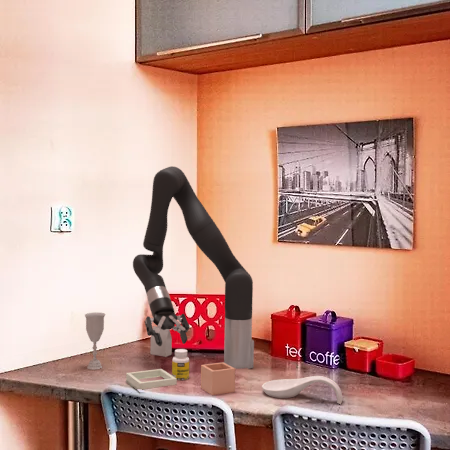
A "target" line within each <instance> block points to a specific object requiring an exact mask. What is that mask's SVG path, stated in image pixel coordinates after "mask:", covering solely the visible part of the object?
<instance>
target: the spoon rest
mask: <svg viewBox="0 0 450 450" xmlns="http://www.w3.org/2000/svg"><path fill="white" fill-rule="evenodd" d="M315 383H323V384H325V385H328V387H330V388H331V389H332V390H333V391H334V393H335V396H336V403H339V404H340V405H341V404H342V402H343V393H342V390H341V387H340V386H339V384H338V383H336V382H335V381H334V380H332V379H331V378H329V377H328V376H327V377H326V376H322V375H313V376H312V375H311V376H306V377H301V378H286V379H285V378H284V379H283V378H282V379H281V378H280V379H272V380H269V381H266V382H264V383H263V384H262V385H261V389H262V390H263V392H264V393H265V394H266V395H267V396H269V397H271V398H277V399H289V398H295V397H297V396H298V395H299V394H300V393H301V392H303V390H305V389H306V388H308V387H309V386H310V385H313V384H315ZM339 404H338V405H339Z"/></svg>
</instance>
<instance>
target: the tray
mask: <svg viewBox="0 0 450 450" xmlns="http://www.w3.org/2000/svg"><path fill="white" fill-rule="evenodd" d="M125 373H126V374H125V382H126V383H127V384H128V385H129V386H130V387H131V388H133V387H134V388H136V389H142V390H146V389H153V388H162V387H168V386H169V387H170V386H177V383H178V380H177V379H176V378H175V377H173V376H172V374H171V373H169V372H167V371H166V370H164V369H162V368H157V369H150V370H148V369H147V370H140V371H134V372H133V371H132V372H125ZM158 377H161V378H163V379H157V380H156V379H155V380H148V381H141V380H145V379H152V378H158ZM134 388H133V389H134ZM136 389H135V390H136Z"/></svg>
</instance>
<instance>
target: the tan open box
mask: <svg viewBox="0 0 450 450" xmlns="http://www.w3.org/2000/svg"><path fill="white" fill-rule="evenodd" d="M201 389H202V390H203V391H205V393H208V394H209V395H211V396H217V395H224V394H229V393H235V392H236V368H233V367H231V366H229V365H227V364H226V363H224V361H222V362H216V363H206V364H201V365H200V390H201Z"/></svg>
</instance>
